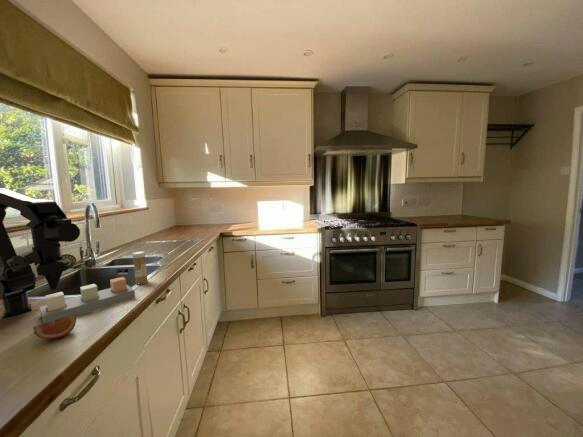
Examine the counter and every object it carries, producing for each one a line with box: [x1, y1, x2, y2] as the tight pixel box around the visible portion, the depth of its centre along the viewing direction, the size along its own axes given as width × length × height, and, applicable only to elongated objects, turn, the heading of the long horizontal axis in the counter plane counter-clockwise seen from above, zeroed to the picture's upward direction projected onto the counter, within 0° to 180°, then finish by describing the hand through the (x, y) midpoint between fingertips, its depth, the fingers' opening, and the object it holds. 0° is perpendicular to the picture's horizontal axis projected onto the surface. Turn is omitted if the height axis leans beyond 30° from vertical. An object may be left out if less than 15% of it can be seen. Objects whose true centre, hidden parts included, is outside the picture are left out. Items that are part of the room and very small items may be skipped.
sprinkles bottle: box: [132, 251, 148, 285], centre depth 106 cm, size 5×5×14 cm
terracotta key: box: [109, 276, 128, 293], centre depth 91 cm, size 4×4×5 cm
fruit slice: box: [32, 314, 77, 340], centre depth 67 cm, size 8×7×5 cm
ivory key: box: [44, 291, 66, 312], centre depth 79 cm, size 4×4×5 cm
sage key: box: [79, 283, 99, 302], centre depth 85 cm, size 4×4×5 cm
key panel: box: [39, 284, 136, 324], centre depth 86 cm, size 10×24×3 cm, turn 138°
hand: (53, 289), depth 78 cm, fingers closed
